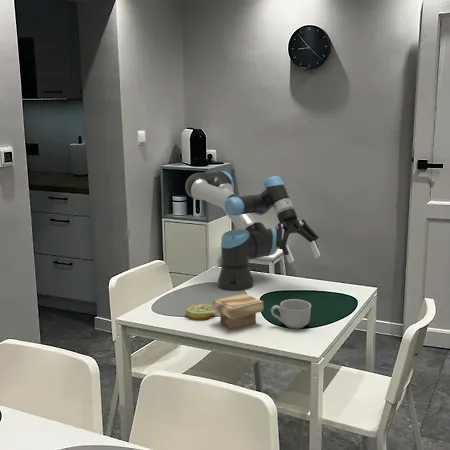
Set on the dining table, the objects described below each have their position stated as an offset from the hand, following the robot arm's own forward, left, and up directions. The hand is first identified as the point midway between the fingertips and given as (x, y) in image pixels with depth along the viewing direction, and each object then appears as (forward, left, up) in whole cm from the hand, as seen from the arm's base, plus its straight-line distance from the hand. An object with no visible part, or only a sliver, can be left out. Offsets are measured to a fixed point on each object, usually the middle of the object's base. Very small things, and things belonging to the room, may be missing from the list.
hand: (305, 259), depth 241 cm
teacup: (+21, -25, -16) cm, 36 cm away
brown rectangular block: (+9, -39, -16) cm, 43 cm away
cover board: (+9, -39, -11) cm, 41 cm away
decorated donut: (-6, -45, -16) cm, 48 cm away
